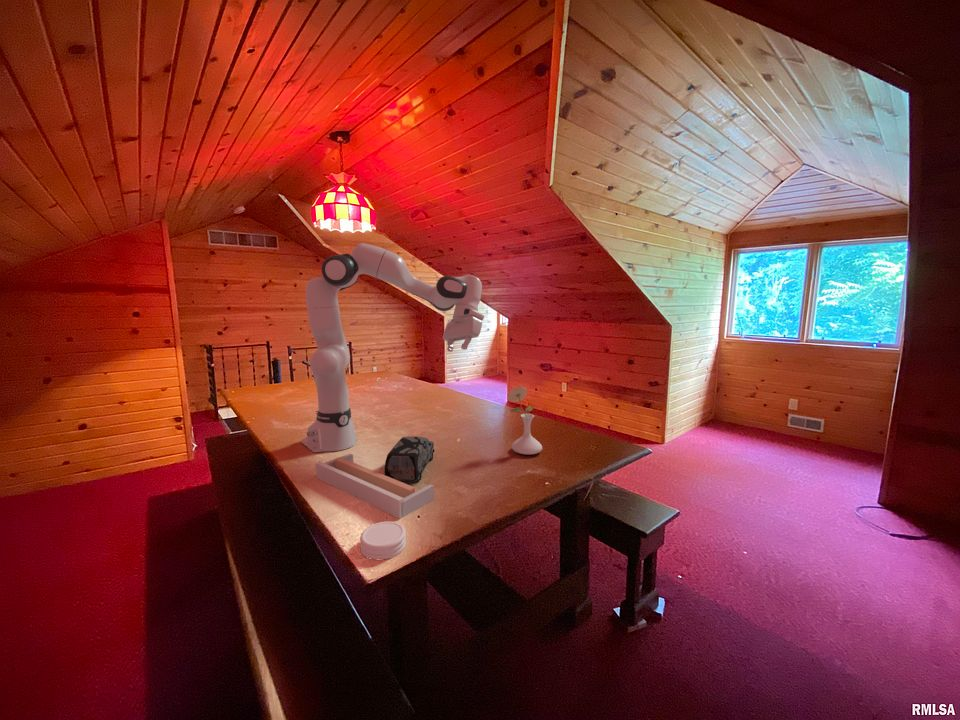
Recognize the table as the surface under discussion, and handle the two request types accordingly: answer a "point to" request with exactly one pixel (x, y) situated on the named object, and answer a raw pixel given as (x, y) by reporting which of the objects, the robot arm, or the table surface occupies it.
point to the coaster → (383, 540)
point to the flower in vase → (526, 441)
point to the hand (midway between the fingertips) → (456, 350)
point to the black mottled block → (409, 459)
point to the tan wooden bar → (374, 477)
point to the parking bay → (373, 490)
